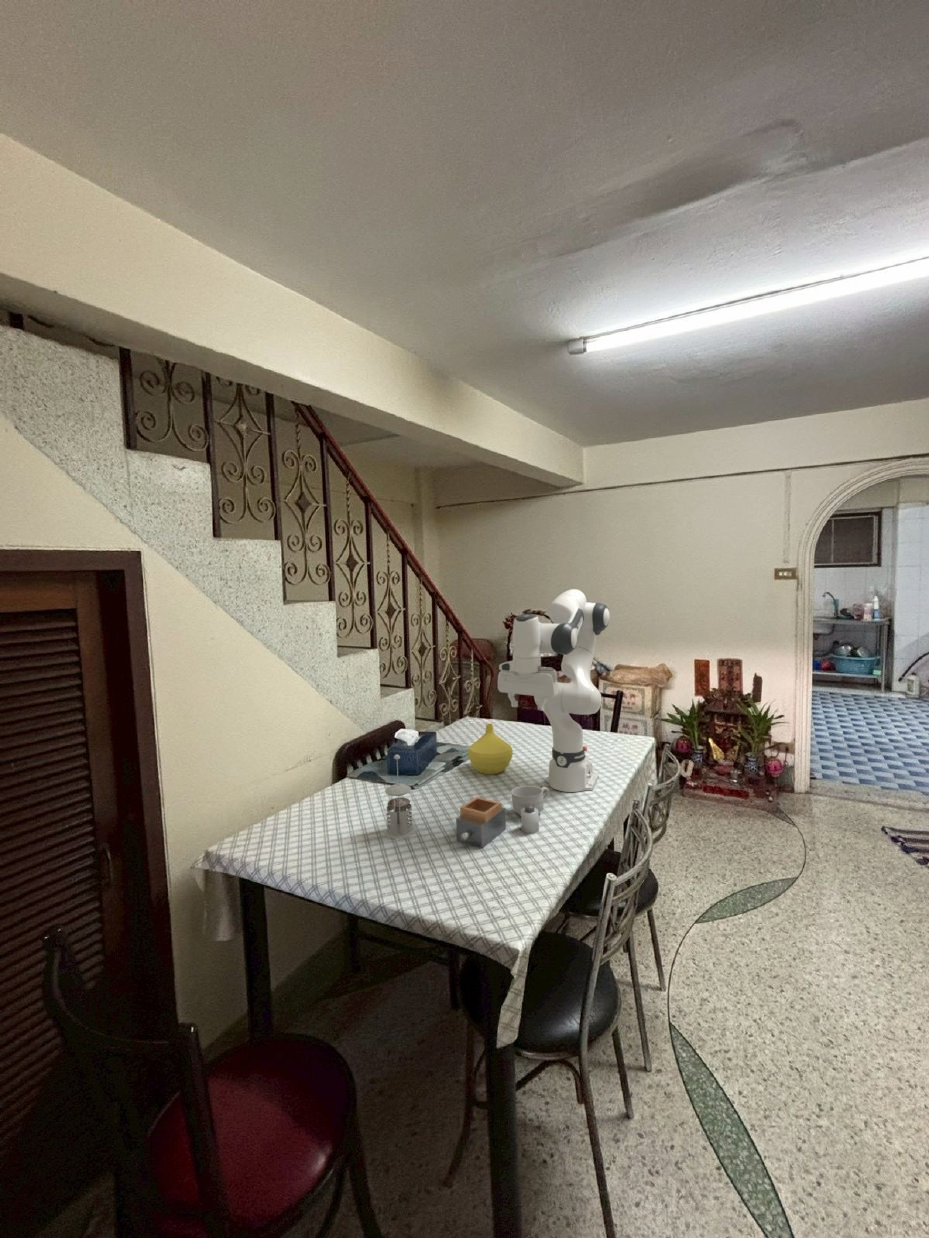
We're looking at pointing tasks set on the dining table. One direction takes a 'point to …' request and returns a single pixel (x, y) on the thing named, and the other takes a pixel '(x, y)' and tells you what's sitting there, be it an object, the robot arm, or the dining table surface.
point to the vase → (490, 753)
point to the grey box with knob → (480, 822)
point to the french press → (399, 811)
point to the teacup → (528, 797)
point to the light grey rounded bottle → (529, 819)
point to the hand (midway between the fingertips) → (527, 708)
